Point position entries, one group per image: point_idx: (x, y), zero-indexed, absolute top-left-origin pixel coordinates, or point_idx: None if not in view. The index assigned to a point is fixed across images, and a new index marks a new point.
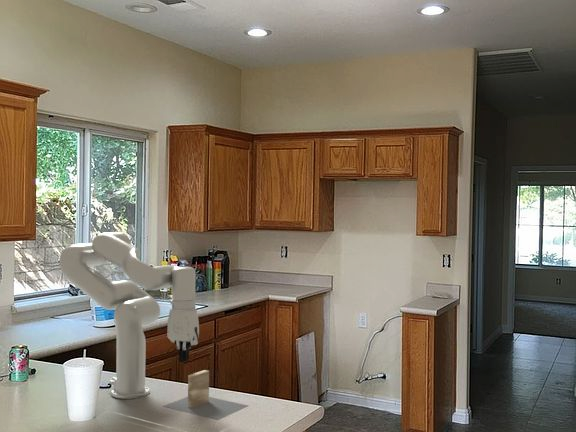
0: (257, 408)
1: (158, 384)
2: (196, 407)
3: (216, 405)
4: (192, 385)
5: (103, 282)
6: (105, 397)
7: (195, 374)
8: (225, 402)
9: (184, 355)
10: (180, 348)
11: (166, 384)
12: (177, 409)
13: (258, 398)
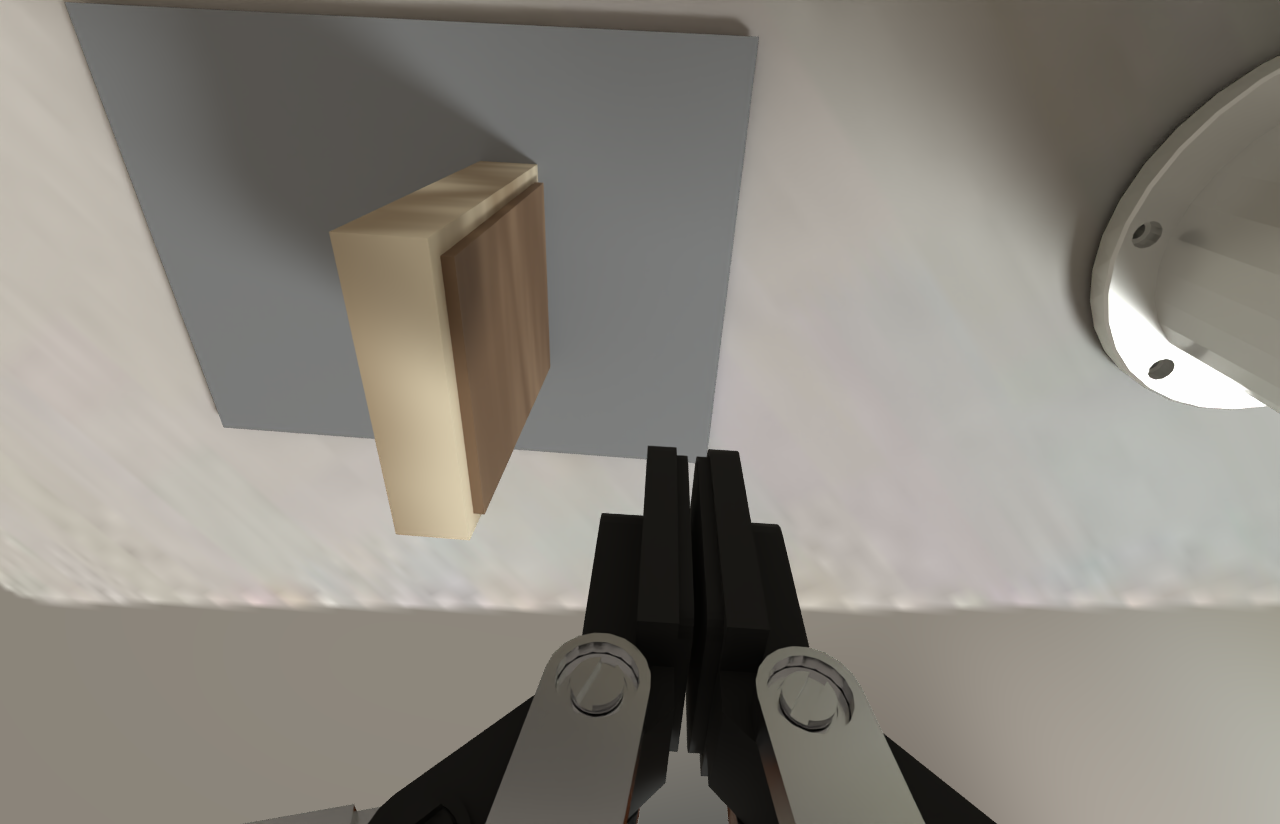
0: (183, 432)
1: (1108, 531)
2: None
3: None
4: (400, 201)
5: None
6: None
7: (390, 332)
8: None
9: (626, 559)
10: (753, 691)
11: (1044, 553)
12: (563, 37)
13: (336, 573)
